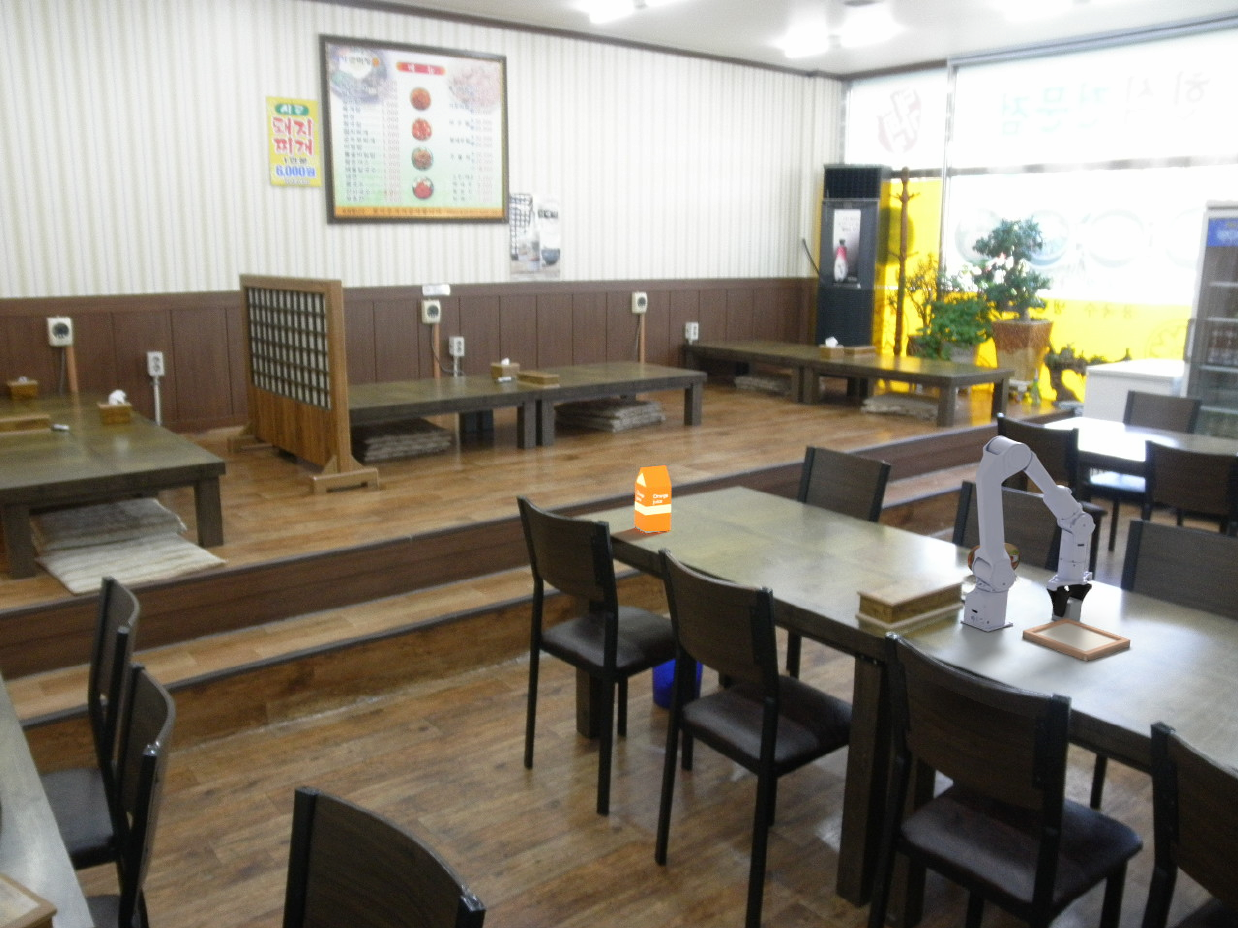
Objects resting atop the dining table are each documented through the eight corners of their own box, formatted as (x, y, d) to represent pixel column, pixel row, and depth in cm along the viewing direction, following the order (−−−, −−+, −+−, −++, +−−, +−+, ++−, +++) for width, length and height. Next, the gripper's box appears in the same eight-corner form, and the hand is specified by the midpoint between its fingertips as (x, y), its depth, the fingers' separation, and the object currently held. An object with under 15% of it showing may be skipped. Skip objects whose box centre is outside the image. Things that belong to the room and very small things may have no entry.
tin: (971, 577, 277) (973, 547, 275) (964, 573, 280) (967, 544, 278) (1019, 573, 281) (1022, 543, 279) (1012, 569, 284) (1015, 540, 282)
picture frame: (1086, 661, 222) (1087, 654, 221) (1022, 637, 235) (1023, 630, 234) (1129, 646, 230) (1130, 639, 230) (1065, 624, 243) (1066, 617, 243)
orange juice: (634, 527, 321) (635, 465, 317) (659, 524, 325) (660, 462, 321) (645, 534, 314) (646, 470, 310) (671, 531, 318) (672, 467, 314)
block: (1068, 624, 243) (1070, 604, 242) (1051, 618, 247) (1053, 598, 246) (1080, 620, 246) (1082, 600, 245) (1063, 614, 250) (1065, 595, 248)
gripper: (1068, 568, 236) (1062, 624, 239) (1106, 558, 244) (1100, 612, 247) (1041, 560, 242) (1036, 615, 245) (1079, 551, 250) (1073, 604, 253)
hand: (1066, 613), depth 246 cm, fingers open, 5 cm apart
